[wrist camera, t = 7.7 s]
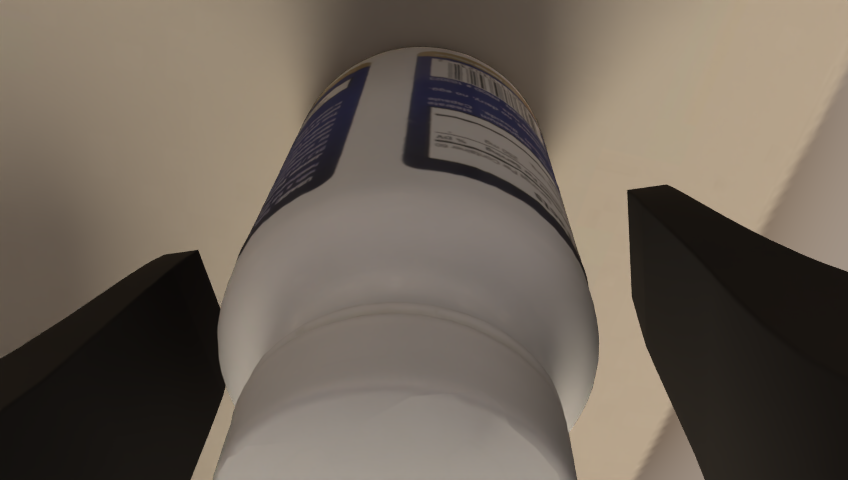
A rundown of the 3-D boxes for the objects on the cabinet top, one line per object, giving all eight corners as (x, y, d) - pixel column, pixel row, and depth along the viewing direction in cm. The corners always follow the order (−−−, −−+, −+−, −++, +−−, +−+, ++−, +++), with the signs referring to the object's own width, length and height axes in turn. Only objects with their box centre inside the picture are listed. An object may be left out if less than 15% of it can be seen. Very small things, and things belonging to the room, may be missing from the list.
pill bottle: (341, 283, 18) (240, 694, 9) (268, 73, 15) (41, 375, 7) (560, 242, 17) (669, 650, 9) (523, 14, 15) (623, 273, 6)
